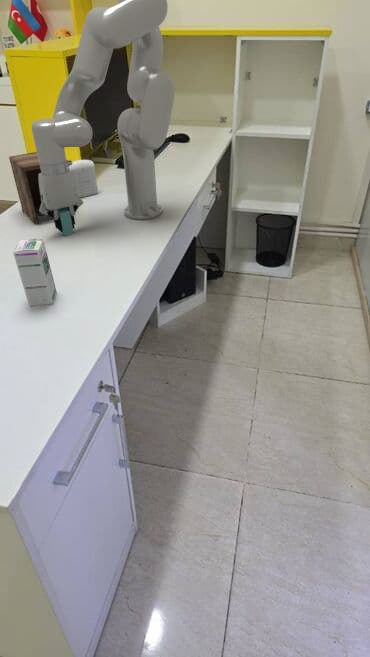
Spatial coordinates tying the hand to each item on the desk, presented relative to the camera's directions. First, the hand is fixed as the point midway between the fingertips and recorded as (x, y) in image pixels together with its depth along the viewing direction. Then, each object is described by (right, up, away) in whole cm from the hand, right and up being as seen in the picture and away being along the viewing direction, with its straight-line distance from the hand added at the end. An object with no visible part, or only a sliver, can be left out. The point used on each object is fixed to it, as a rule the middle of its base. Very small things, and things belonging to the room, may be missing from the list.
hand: (66, 228), depth 137 cm
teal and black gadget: (-5, +3, +7) cm, 9 cm away
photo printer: (0, +18, +27) cm, 33 cm away
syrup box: (+2, -24, -28) cm, 37 cm away
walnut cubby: (-10, +8, +14) cm, 19 cm away
